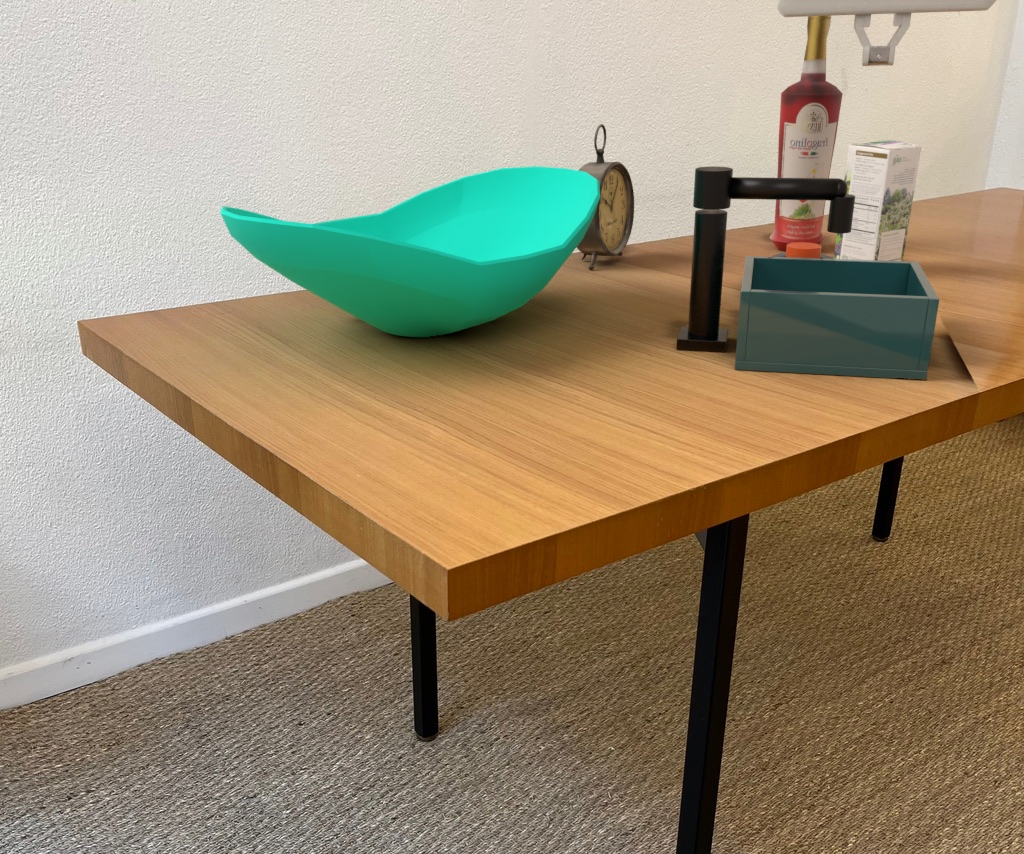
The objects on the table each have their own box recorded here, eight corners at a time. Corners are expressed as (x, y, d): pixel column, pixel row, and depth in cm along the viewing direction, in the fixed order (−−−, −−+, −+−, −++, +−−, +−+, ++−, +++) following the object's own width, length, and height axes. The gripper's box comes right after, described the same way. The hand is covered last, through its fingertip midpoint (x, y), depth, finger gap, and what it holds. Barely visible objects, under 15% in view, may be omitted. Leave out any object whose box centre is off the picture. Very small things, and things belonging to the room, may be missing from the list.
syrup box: (861, 265, 127) (877, 138, 121) (903, 273, 123) (922, 142, 117) (831, 271, 124) (846, 142, 118) (873, 280, 120) (891, 146, 114)
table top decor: (350, 409, 82) (336, 236, 76) (175, 342, 100) (153, 198, 94) (664, 314, 107) (671, 179, 101) (479, 274, 125) (476, 158, 119)
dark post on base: (727, 339, 99) (737, 208, 94) (725, 352, 95) (735, 216, 90) (680, 336, 100) (687, 206, 94) (676, 349, 96) (683, 215, 91)
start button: (819, 259, 113) (821, 242, 113) (820, 266, 110) (822, 249, 110) (785, 258, 114) (786, 241, 113) (785, 264, 111) (786, 248, 110)
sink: (907, 333, 100) (918, 261, 97) (926, 380, 87) (939, 299, 84) (740, 325, 103) (745, 255, 100) (734, 369, 90) (740, 291, 87)
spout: (691, 231, 92) (694, 170, 89) (692, 225, 94) (695, 166, 92) (852, 235, 89) (860, 172, 87) (848, 228, 92) (856, 167, 90)
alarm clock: (599, 273, 125) (602, 129, 118) (558, 269, 127) (559, 127, 120) (635, 256, 133) (640, 120, 126) (596, 252, 136) (599, 119, 129)
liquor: (821, 243, 139) (847, 10, 128) (828, 254, 133) (856, 10, 121) (764, 242, 140) (785, 11, 129) (769, 253, 134) (791, 10, 122)
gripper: (780, -92, 98) (769, 69, 103) (1016, -105, 93) (991, 64, 99) (780, -86, 103) (769, 67, 109) (1003, -98, 99) (980, 62, 105)
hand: (877, 65), depth 104 cm, fingers closed
